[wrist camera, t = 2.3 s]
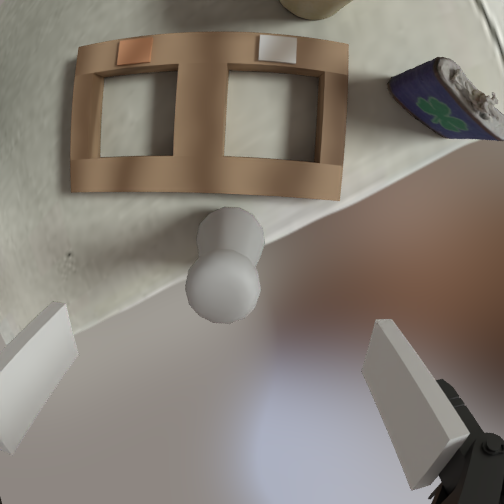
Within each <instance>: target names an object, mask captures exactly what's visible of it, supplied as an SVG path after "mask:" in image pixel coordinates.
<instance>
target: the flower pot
mask: <svg viewBox="0 0 504 504" xmlns="http://www.w3.org/2000/svg"><path fill="white" fill-rule="evenodd" d="M279 1H280V2H281V4H282V5H283V6H284V7H285V8H286V9H288V10H289V11H290V12H292V13H293V14H295V15H296V16H298V17H301V18H305V19H311V20H320V19H325V18H328V17H331V16H332V15H334V14H335V13H337V12H338V11H339V10H340V9H341V8H343V7H344V6H345V5H347V4H348V3H350V2H351V1H352V0H279Z"/></svg>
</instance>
